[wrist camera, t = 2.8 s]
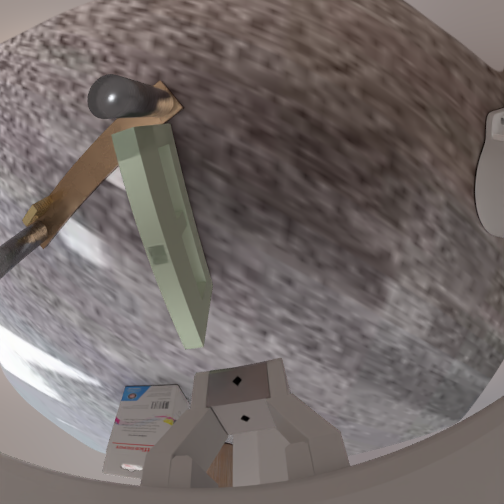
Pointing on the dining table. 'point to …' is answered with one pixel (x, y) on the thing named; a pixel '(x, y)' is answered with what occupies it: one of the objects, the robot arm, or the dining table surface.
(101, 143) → the drawknife
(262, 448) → the milk carton
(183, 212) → the gate
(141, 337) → the dining table surface
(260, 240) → the dining table surface
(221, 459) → the planter
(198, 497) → the robot arm
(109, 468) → the ink box
